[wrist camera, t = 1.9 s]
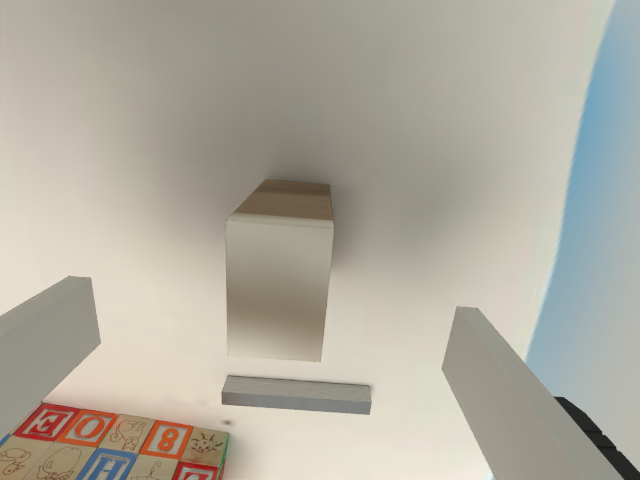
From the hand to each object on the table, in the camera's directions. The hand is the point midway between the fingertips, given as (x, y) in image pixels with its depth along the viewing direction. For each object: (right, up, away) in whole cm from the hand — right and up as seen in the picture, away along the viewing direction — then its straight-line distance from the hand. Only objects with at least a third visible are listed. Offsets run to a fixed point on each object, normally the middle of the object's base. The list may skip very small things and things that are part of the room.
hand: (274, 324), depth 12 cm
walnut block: (0, +4, +10) cm, 10 cm away
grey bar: (0, -8, +14) cm, 16 cm away
